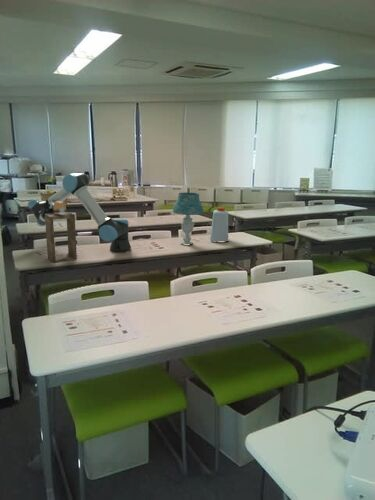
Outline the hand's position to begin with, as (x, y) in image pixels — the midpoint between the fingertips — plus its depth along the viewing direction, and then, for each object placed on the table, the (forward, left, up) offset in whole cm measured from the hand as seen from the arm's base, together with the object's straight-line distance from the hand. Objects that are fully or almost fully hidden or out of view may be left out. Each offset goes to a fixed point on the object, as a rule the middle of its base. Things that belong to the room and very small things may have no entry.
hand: (54, 202), depth 242 cm
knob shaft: (0, +2, -4) cm, 5 cm away
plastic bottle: (-126, +24, -37) cm, 134 cm away
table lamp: (-96, +19, -37) cm, 105 cm away
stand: (0, +8, -36) cm, 37 cm away
